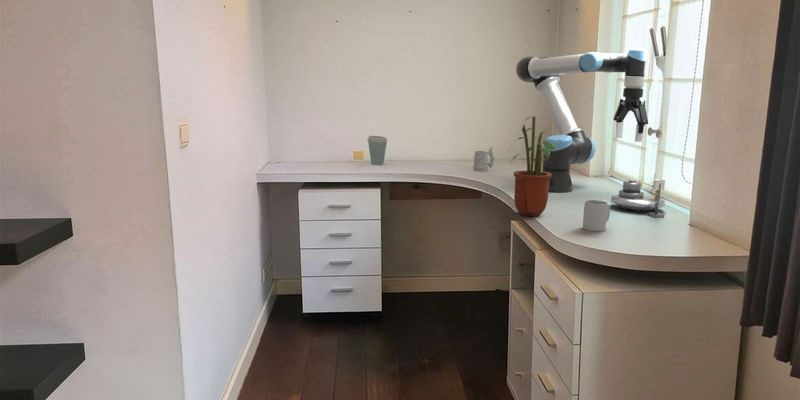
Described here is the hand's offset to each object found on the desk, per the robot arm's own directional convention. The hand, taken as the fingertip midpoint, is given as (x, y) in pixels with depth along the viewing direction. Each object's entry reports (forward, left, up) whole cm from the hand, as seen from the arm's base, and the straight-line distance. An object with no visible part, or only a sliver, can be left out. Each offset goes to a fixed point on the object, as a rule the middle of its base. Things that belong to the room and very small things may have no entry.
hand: (628, 139), depth 253 cm
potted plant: (-53, -28, -24) cm, 65 cm away
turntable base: (-8, -24, -24) cm, 35 cm away
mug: (-38, +72, -24) cm, 85 cm away
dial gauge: (-8, -37, -24) cm, 45 cm away
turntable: (-8, -24, -21) cm, 33 cm away
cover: (-8, -20, -20) cm, 29 cm away
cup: (-39, -52, -24) cm, 70 cm away
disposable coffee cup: (-91, +95, -24) cm, 134 cm away
